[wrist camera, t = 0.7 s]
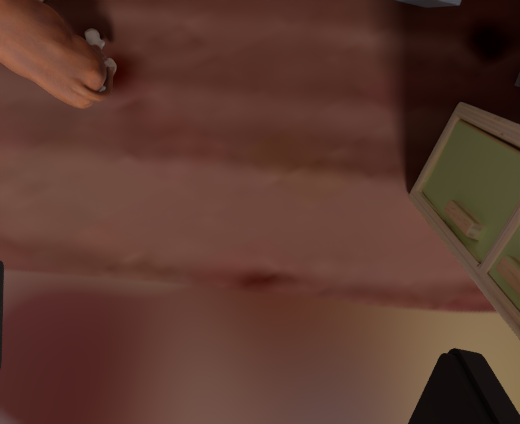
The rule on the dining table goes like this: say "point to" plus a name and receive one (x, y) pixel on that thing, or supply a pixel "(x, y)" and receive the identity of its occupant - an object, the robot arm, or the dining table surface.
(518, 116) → the dining table surface
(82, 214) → the dining table surface
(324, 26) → the dining table surface
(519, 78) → the pink and grey block
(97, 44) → the bull figurine
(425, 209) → the toy refrigerator
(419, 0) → the slate brick
